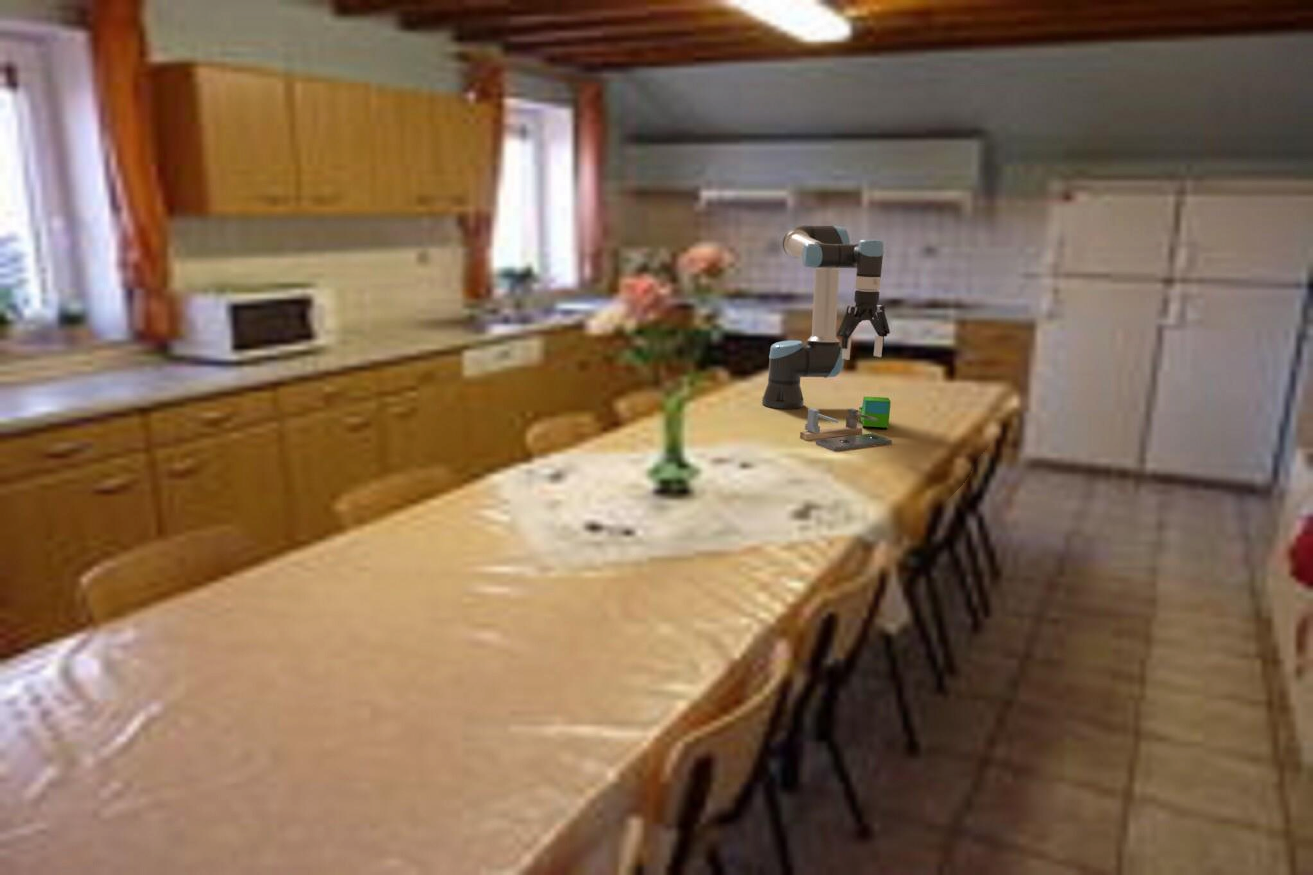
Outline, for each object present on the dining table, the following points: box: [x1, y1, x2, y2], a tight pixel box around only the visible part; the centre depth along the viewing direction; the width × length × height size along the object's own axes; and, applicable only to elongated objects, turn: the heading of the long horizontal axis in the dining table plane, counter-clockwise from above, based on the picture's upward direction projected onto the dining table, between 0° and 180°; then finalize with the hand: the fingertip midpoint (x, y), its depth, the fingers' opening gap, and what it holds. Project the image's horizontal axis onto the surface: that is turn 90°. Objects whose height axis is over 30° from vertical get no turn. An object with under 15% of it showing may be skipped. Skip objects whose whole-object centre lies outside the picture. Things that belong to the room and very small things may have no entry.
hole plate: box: [815, 432, 893, 452], centre depth 295 cm, size 9×23×1 cm, turn 119°
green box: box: [858, 396, 892, 430], centre depth 319 cm, size 10×13×10 cm
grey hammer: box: [804, 407, 839, 433], centre depth 295 cm, size 14×2×7 cm, turn 29°
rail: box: [799, 407, 878, 441], centre depth 299 cm, size 13×23×8 cm, turn 119°
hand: (861, 357), depth 299 cm, fingers open, 13 cm apart
